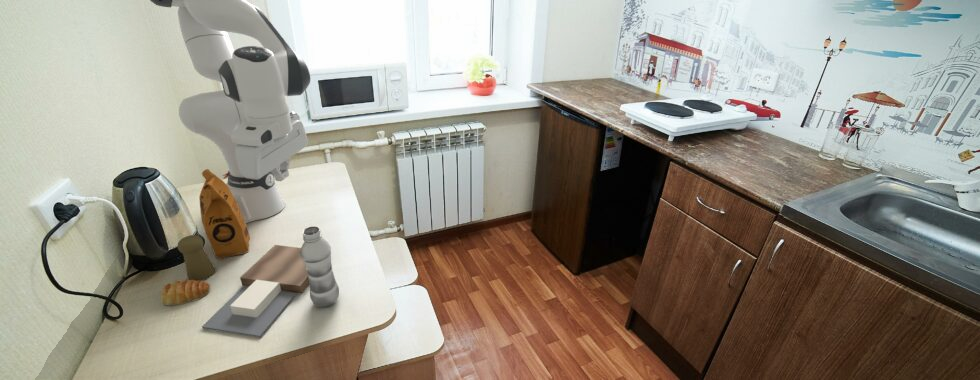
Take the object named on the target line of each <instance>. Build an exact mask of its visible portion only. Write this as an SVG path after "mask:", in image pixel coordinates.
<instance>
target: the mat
mask: <svg viewBox="0 0 980 380" xmlns="http://www.w3.org/2000/svg"><path fill="white" fill-rule="evenodd" d="M248 287H249V286H242V287H241V288H240V289H238V291H237V292H236V293H235V294H234V295H233V296H232V297H230V299H228V300H227V301H226V302H225V303H224V304H223V306H222V307H221V306H220V308H219V309H218V310H217V311H216V312H215V313H214V314H213V315H212V316H211V317H210V318H209V319H208V320H207V321H206V322H205V323H204V324H203V325H202V326H201V329H204V330H210V331H216V332H223V333H228V334H235V335H240V336H241V335H242V336H249V337H254V338H260V339H261V338H262V337H263V336H264V335H265V334H266V332H267V331H268V330H269V329H270V328H271V327H272V325H273V324H274V323H275V321H277V319H278V318H279V317H280V316H281V314H282V313H283V312H284V311H285V310H286V308H287V307H288V306H289V305H290V304H291V303H292V301H293V300H294V299H295V298H296V297H297V295H298V293H294V292H287V291H281V292H280V293H279V294H278V295H277V296H276V297H275V298H274V299H273V301H272V302H271V303H270V304H269V305H268V306H267V307H266V308H265V310H264V311H263V312H262V313H261V314H260V315H259V316H258V317H257V318H255V317H249V316H242V315H236V314H233V313H232V310H231V307H230V305H231V304H232V303H233V302H234V301H235V300H236V299H237V298H238V297H239V296H240V295H241V294H242V293H243V292H244V291H245V290H246V289H247V288H248Z"/></svg>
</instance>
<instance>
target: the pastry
mask: <svg viewBox="0 0 980 380" xmlns="http://www.w3.org/2000/svg"><path fill="white" fill-rule="evenodd" d="M210 290H211V285H210V283H208V282H207V281H204V280H203V281H201V280H199V281H196V280H189V279H186V278H185V279H183V280H175V281H173V282H172V283H166V284H164V285H163V288H162V289H161V293H160V294H161V295H160V296H161V297H160V298H161V303H162V304H163V305H166V306H171V307H172V306H175V305H178V306H179V305H183V304H187V303H191V302H193V301H196V300H200V299H202V298H203V297H205V296H207V295H208V294H209V292H211V291H210Z"/></svg>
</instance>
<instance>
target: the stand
mask: <svg viewBox="0 0 980 380" xmlns="http://www.w3.org/2000/svg"><path fill="white" fill-rule="evenodd" d="M300 251H301V247H297V246H296V247H295V246H287V245H280V244H274V245H273V246H272V247H271V248H269V250H267V252H265V254H263V255H262V257H260V258H259V259H258V260H257V261H256V262H255V263H254V264H253V265H252V266H251V267H250V268H249V269H248V270H246V271H245V272H244V273H243V274H242V275H241V276H240V277H239V279H240V282H241V285H242V287H243V286H250V285H251V284H252V283H254V282H255V281H256V280H263V281H270V282H277V283H279V284H280V288H281V291H287V292H294V293H297V294H300V295H302V294H304V292H305V291H306V290H307V288H308V287H310V284H309V277H308V273H307V270H306V267H305V265H304V263H303V260H302V258H301V255H300Z"/></svg>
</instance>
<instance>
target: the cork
mask: <svg viewBox="0 0 980 380" xmlns="http://www.w3.org/2000/svg"><path fill="white" fill-rule="evenodd" d="M203 247H204V240H203V238H202V237H200V235H197V234H196V235H194V234H193V235H191V234H190V235H187V236H185V237H183V238H180V239H179V240H178V242H177V250H178V251H179V252H180V253H181V254H182V255H183V260H184V264H185V270H186V274H187V280H196V281H199V280H201V281H203V282H204V281H206V280H208V279H210V278H212V276H214V275H215V274H216V272H217V270H216V267H215V265H214V264H213V263H212V260H211V259H210V257H209V255H208V254H207V252H206V251H205V249H204V248H203Z"/></svg>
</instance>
